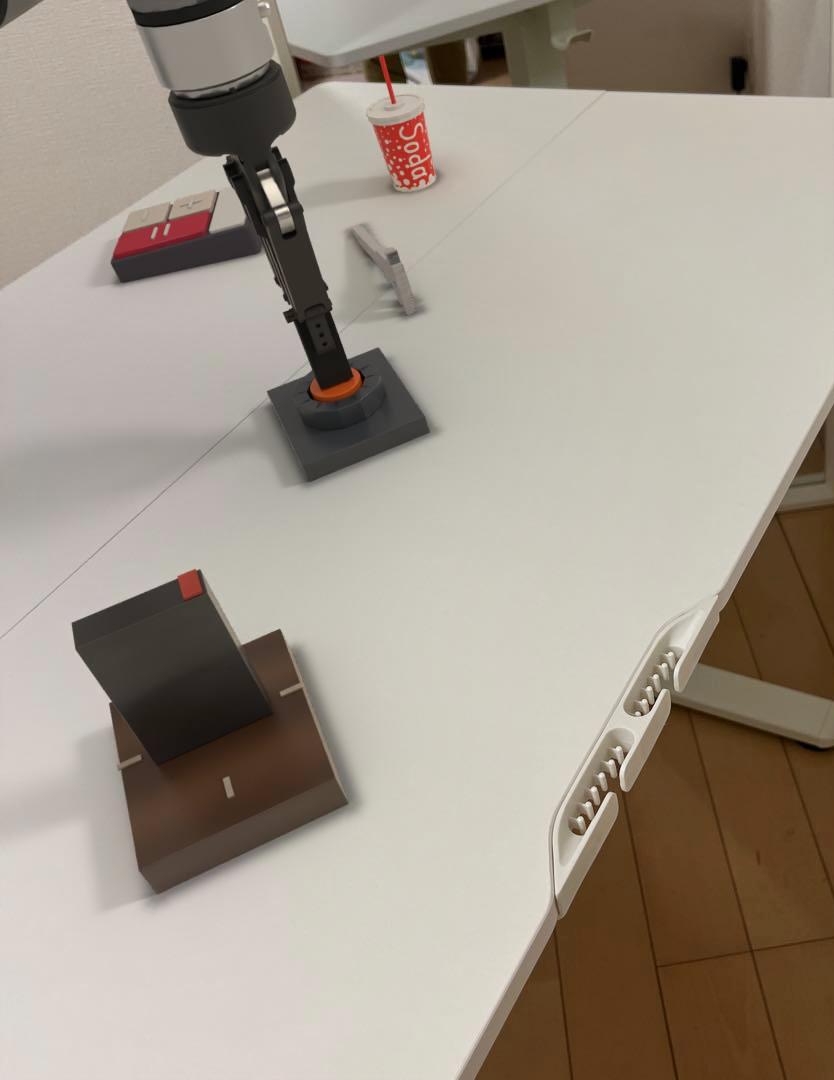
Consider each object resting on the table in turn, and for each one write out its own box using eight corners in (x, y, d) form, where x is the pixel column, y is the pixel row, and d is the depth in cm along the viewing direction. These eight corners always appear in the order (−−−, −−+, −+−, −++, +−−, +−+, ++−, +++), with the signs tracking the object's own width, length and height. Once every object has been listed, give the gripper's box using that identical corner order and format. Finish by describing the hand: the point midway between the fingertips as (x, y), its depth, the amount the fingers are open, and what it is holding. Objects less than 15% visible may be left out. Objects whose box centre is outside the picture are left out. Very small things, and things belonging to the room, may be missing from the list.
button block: (275, 412, 92) (258, 372, 90) (385, 368, 94) (372, 328, 91) (311, 488, 84) (294, 447, 81) (432, 438, 86) (419, 396, 83)
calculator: (124, 209, 120) (255, 173, 119) (143, 244, 123) (271, 210, 122) (105, 257, 112) (245, 219, 111) (125, 293, 115) (262, 257, 114)
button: (311, 397, 88) (304, 379, 87) (357, 378, 89) (351, 360, 88) (324, 421, 85) (317, 403, 84) (372, 402, 86) (365, 383, 85)
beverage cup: (393, 205, 117) (354, 73, 108) (385, 183, 122) (348, 54, 113) (448, 190, 118) (415, 57, 108) (439, 168, 122) (406, 38, 113)
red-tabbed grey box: (156, 765, 62) (72, 646, 55) (150, 738, 64) (68, 619, 57) (273, 713, 64) (206, 590, 57) (265, 687, 65) (198, 565, 58)
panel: (127, 732, 69) (105, 700, 67) (296, 657, 71) (280, 624, 69) (160, 901, 59) (135, 870, 57) (354, 809, 61) (336, 776, 59)
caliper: (420, 317, 99) (402, 255, 95) (409, 322, 99) (390, 259, 95) (361, 232, 114) (343, 175, 110) (351, 235, 114) (333, 178, 110)
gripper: (302, 83, 66) (405, 400, 82) (255, 32, 75) (356, 325, 91) (182, 124, 65) (310, 439, 80) (149, 67, 74) (270, 359, 90)
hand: (334, 378), depth 86 cm, fingers closed
